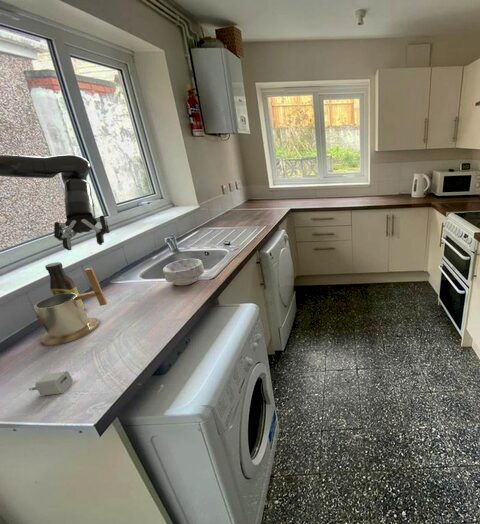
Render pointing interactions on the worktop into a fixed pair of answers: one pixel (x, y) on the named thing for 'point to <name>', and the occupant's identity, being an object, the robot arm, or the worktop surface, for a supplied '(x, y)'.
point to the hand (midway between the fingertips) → (84, 246)
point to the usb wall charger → (53, 383)
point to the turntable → (50, 341)
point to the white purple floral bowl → (183, 271)
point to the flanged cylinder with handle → (67, 310)
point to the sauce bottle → (60, 280)
